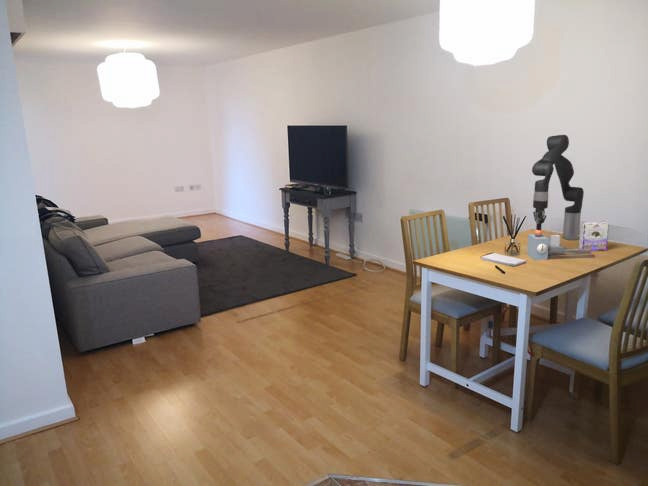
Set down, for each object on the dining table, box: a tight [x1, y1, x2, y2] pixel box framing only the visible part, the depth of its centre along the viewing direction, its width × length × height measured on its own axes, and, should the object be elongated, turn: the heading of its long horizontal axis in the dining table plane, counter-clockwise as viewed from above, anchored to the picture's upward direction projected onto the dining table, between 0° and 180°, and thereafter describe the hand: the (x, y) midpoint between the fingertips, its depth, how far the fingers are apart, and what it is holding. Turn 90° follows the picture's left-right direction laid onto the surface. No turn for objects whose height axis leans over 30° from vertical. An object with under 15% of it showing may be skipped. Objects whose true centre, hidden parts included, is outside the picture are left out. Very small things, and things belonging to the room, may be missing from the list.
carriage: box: [548, 234, 565, 252], centre depth 281 cm, size 8×8×8 cm
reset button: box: [534, 228, 543, 236], centre depth 280 cm, size 4×4×3 cm
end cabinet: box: [526, 233, 549, 261], centre depth 282 cm, size 13×7×12 cm, turn 179°
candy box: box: [578, 220, 610, 252], centre depth 292 cm, size 14×6×16 cm, turn 84°
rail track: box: [547, 248, 596, 260], centre depth 283 cm, size 10×26×4 cm, turn 89°
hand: (538, 229), depth 280 cm, fingers closed
